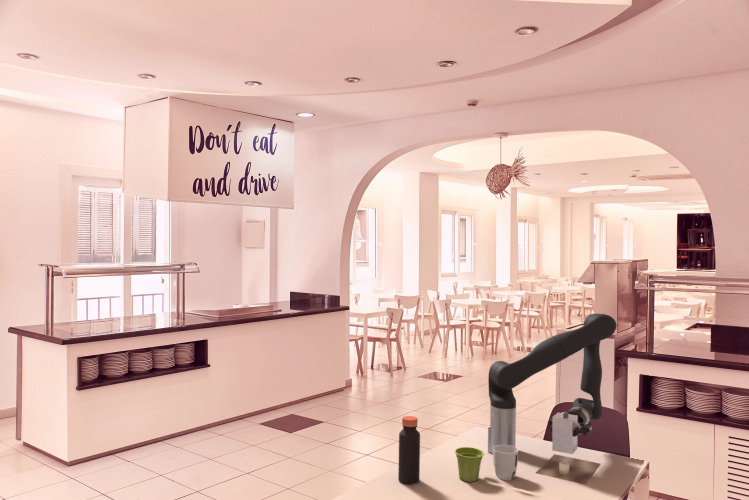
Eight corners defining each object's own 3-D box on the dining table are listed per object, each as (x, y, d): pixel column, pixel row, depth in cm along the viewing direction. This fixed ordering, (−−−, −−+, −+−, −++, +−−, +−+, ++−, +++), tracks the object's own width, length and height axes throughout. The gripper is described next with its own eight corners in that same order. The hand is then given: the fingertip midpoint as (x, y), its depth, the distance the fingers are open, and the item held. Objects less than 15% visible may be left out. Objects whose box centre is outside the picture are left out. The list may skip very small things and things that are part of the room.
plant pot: (484, 474, 188) (484, 448, 189) (483, 485, 179) (483, 458, 179) (455, 471, 191) (456, 445, 191) (453, 482, 181) (453, 455, 181)
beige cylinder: (557, 474, 187) (557, 463, 187) (560, 471, 190) (560, 460, 190) (567, 476, 186) (567, 465, 186) (570, 473, 188) (570, 462, 188)
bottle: (413, 486, 178) (414, 422, 178) (394, 481, 181) (395, 418, 181) (423, 479, 183) (424, 417, 184) (404, 474, 187) (405, 413, 187)
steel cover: (552, 450, 187) (552, 413, 187) (557, 445, 192) (557, 408, 192) (572, 454, 184) (572, 416, 184) (577, 448, 189) (577, 411, 189)
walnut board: (535, 475, 188) (535, 472, 188) (554, 456, 206) (554, 454, 206) (585, 487, 179) (585, 484, 179) (600, 466, 198) (600, 463, 198)
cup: (518, 485, 180) (519, 454, 180) (492, 483, 181) (492, 451, 181) (517, 476, 188) (517, 445, 188) (492, 473, 189) (492, 443, 189)
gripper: (555, 405, 204) (541, 416, 190) (597, 412, 196) (586, 424, 182) (555, 426, 204) (541, 439, 190) (597, 433, 196) (585, 447, 182)
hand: (563, 431), depth 186 cm, fingers closed on steel cover, 6 cm apart
